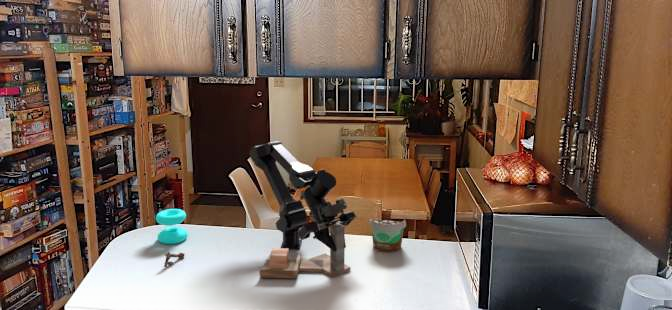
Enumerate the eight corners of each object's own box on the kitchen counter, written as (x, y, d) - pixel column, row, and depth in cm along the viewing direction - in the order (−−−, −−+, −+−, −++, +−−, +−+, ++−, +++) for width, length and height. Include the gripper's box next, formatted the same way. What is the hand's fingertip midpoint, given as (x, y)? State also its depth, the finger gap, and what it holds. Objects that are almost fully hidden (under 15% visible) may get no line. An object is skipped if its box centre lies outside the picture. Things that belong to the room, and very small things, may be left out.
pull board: (245, 269, 154) (243, 223, 150) (310, 247, 169) (309, 205, 165) (283, 296, 138) (281, 246, 135) (350, 270, 153) (350, 224, 149)
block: (273, 263, 156) (272, 248, 154) (289, 263, 155) (288, 248, 154) (270, 270, 151) (269, 255, 150) (286, 271, 151) (286, 255, 149)
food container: (366, 252, 166) (367, 223, 163) (369, 244, 172) (369, 216, 169) (404, 255, 164) (405, 226, 161) (405, 247, 169) (406, 219, 167)
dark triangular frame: (160, 266, 155) (163, 251, 155) (177, 266, 162) (180, 251, 162) (165, 267, 154) (168, 252, 154) (182, 267, 161) (184, 252, 162)
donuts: (184, 206, 180) (186, 215, 171) (187, 232, 182) (188, 243, 173) (155, 209, 177) (155, 219, 167) (157, 236, 179) (158, 247, 170)
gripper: (303, 198, 144) (327, 246, 138) (352, 185, 155) (376, 229, 150) (288, 216, 152) (310, 263, 146) (336, 203, 163) (358, 245, 157)
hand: (340, 249), depth 150 cm, fingers closed on pull board, 3 cm apart
